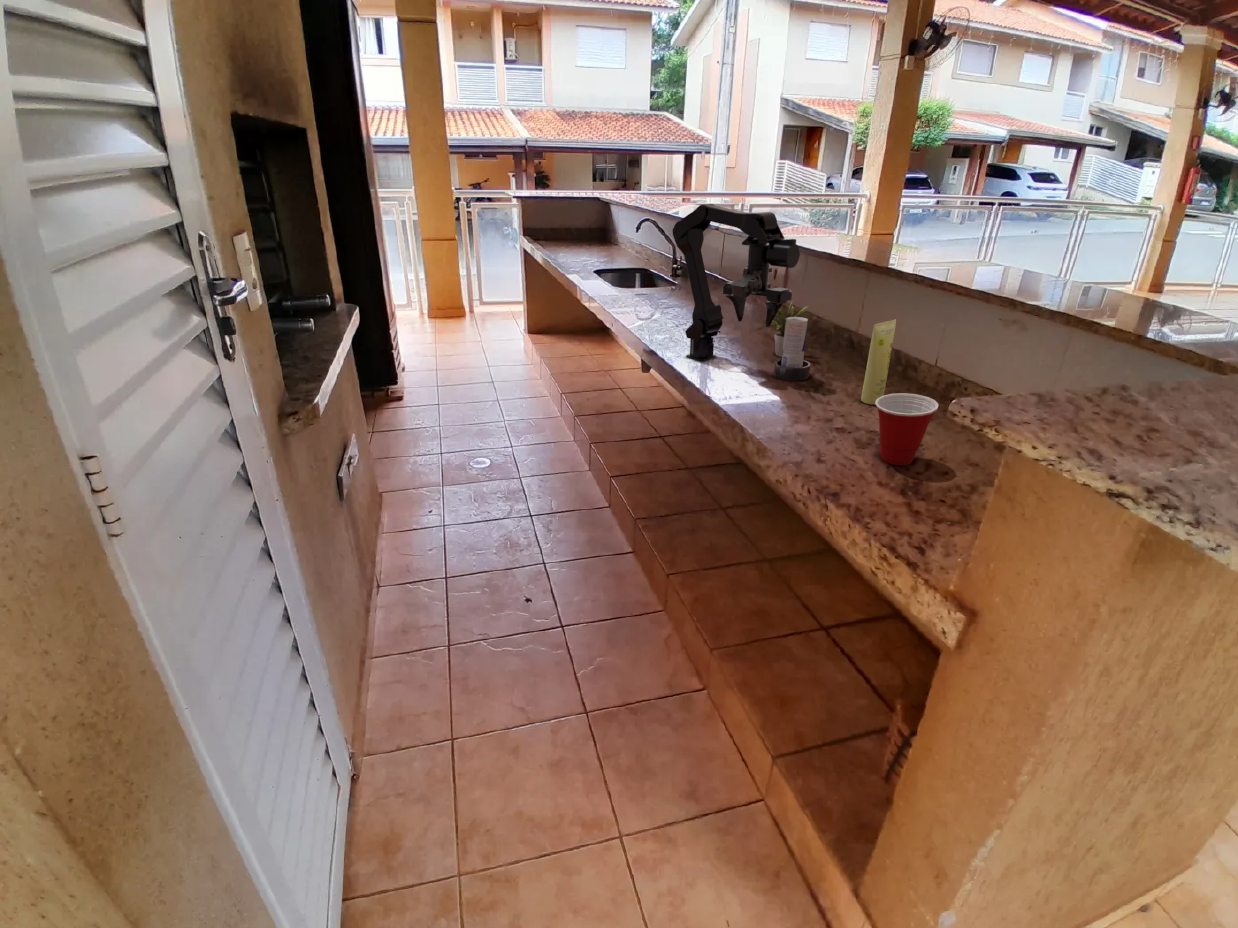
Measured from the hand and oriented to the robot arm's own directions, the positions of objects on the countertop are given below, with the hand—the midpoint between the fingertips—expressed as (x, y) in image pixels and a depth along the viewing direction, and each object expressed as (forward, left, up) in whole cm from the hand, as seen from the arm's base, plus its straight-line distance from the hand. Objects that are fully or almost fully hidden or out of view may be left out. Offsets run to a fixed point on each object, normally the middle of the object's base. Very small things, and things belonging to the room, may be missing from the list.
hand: (753, 324), depth 167 cm
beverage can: (+11, +4, -13) cm, 17 cm away
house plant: (-3, +19, -13) cm, 23 cm away
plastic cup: (+55, -27, -13) cm, 63 cm away
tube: (+36, 0, -13) cm, 38 cm away
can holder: (+11, +4, -13) cm, 17 cm away
